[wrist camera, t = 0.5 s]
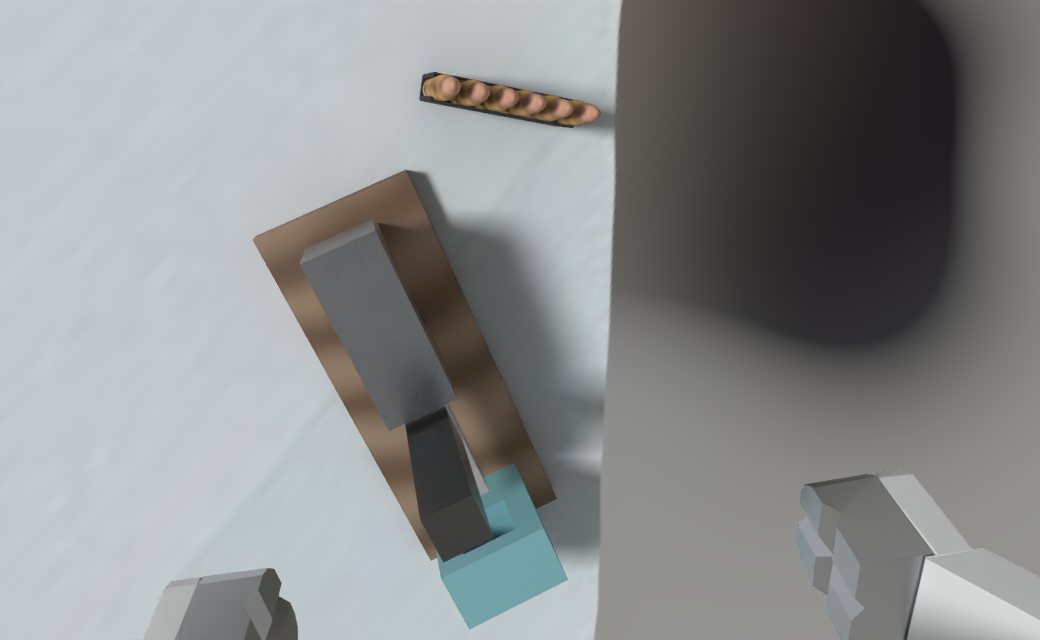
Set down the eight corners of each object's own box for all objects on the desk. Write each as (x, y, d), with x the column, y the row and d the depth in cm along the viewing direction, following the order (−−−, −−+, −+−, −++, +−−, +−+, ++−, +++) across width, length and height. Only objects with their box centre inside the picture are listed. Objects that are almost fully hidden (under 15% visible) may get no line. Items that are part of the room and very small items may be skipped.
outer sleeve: (304, 249, 48) (299, 264, 44) (373, 218, 49) (375, 230, 44) (386, 402, 53) (389, 431, 48) (448, 372, 53) (457, 398, 48)
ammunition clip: (562, 101, 55) (616, 100, 44) (558, 126, 55) (609, 132, 44) (422, 74, 52) (441, 65, 41) (419, 100, 53) (436, 99, 41)
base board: (255, 236, 53) (244, 250, 48) (405, 169, 54) (411, 176, 49) (429, 550, 63) (435, 590, 58) (552, 490, 64) (569, 523, 59)
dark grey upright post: (327, 266, 48) (315, 333, 34) (371, 246, 48) (377, 304, 34) (443, 488, 55) (474, 623, 40) (481, 470, 55) (526, 597, 41)
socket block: (427, 505, 60) (441, 578, 51) (514, 463, 61) (543, 528, 52) (452, 550, 62) (469, 629, 53) (536, 508, 63) (567, 579, 53)
